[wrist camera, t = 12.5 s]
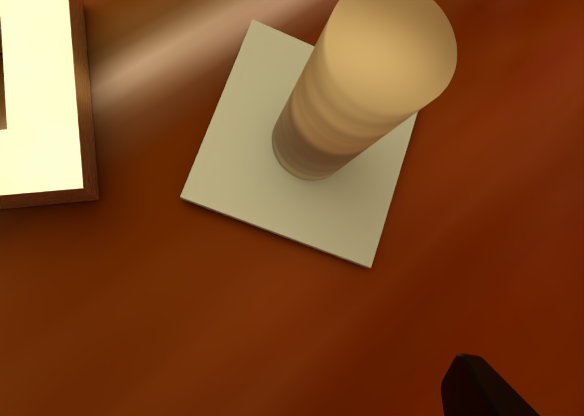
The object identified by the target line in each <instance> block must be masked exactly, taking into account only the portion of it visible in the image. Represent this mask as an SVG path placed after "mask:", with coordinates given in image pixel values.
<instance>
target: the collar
mask: <svg viewBox="0 0 584 416" xmlns="http://www.w3.org/2000/svg"><path fill="white" fill-rule="evenodd" d="M0 53H3V64H4V81H5V98H6V115H7V130H0V209H9V208H20V207H30V206H41V205H52V204H62V203H73V202H83V201H94V200H100V199H99V187H98V175H97V163H96V151H95V139H94V127H93V115H92V103H91V91H90V78H89V66H88V54H87V42H86V30H85V18H84V6H83V0H0Z"/></svg>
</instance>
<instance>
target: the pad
mask: <svg viewBox="0 0 584 416" xmlns="http://www.w3.org/2000/svg"><path fill="white" fill-rule="evenodd" d="M313 49H314V46H312V45H309V44H307V43H305V42H303V41H300V40H298V39H296V38H294V37H291V36H289V35H287V34H284V33H282V32H280V31H278V30H275V29H273V28H271V27H269V26H266V25H264V24H262V23H260V22H257V21H255V20H253V19H252V22H251V24H250V27H249V29H248V32H247V34H246V37H245V39H244V41H243V44H242V46H241V49H240V51H239V54H238V56H237V59H236V61H235V64H234V66H233V68H232V71H231V73H230V76H229V78H228V81H227V83H226V86H225V88H224V91H223V93H222V96H221V98H220V100H219V103H218V105H217V108H216V110H215V113H214V115H213V118H212V120H211V123H210V125H209V127H208V130H207V132H206V135H205V137H204V140H203V142H202V145H201V147H200V150H199V152H198V154H197V157H196V159H195V162H194V164H193V167H192V169H191V172H190V174H189V177H188V179H187V181H186V184H185V186H184V189H183V191H182V194H181V196H180V198H181V199H182V200H185V201H188V202H190V203H193V204H196V205H198V206H201V207H204V208H207V209H209V210H212V211H215V212H217V213H220V214H223V215H225V216H228V217H231V218H233V219H236V220H239V221H242V222H244V223H247V224H250V225H252V226H255V227H258V228H260V229H263V230H266V231H268V232H271V233H274V234H277V235H279V236H282V237H285V238H287V239H290V240H293V241H295V242H298V243H301V244H303V245H306V246H309V247H312V248H314V249H317V250H320V251H322V252H325V253H328V254H330V255H333V256H336V257H338V258H341V259H344V260H347V261H349V262H352V263H355V264H357V265H360V266H363V267H365V268H371V266H372V263H373V259H374V256H375V253H376V249H377V246H378V243H379V239H380V236H381V233H382V229H383V226H384V223H385V219H386V216H387V213H388V209H389V206H390V203H391V199H392V196H393V193H394V189H395V186H396V183H397V179H398V176H399V173H400V169H401V166H402V163H403V159H404V156H405V153H406V149H407V146H408V143H409V139H410V136H411V133H412V129H413V126H414V123H415V119H416V116H417V113H418V111H417V112H416V113H415V114H413V115H412V116H411V117H409V118H408V119H407V120H405V121H404V122H403V123H401V124H400V125H399V126H397V127H396V128H394V129H393V130H392V131H390V132H389V133H388V134H386V135H385V136H384V137H382V138H381V139H380V140H378V141H377V142H376V143H374V144H373V145H372V146H370V147H369V148H367V149H366V150H365V151H363V152H362V153H361V154H359V155H358V156H357V157H355V158H354V159H353V160H351V161H350V162H349V163H347V164H346V165H345V166H343V167H342V168H340V169H339V170H338V171H336V172H335V173H334V174H332V175H331V176H329V177H327V178H324V179H321V180H314V181H312V180H303V179H300V178H297V177H295V176H293V175H291V174H290V173H288V172H287V171H286V170H285V169H284V168H283V167H282V166H281V165H280V163H279V162H278V160H277V159H276V157H275V154H274V152H273V148H272V132H273V129H274V126H275V124H276V122H277V120H278V118H279V116H280V114H281V112H282V110H283V108H284V106H285V104H286V102H287V100H288V98H289V96H290V94H291V92H292V90H293V88H294V87H295V85H296V83H297V81H298V79H299V77H300V75H301V73H302V71H303V69H304V67H305V65H306V63H307V61H308V59H309V57H310V55H311V53H312V51H313Z"/></svg>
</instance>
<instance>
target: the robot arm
mask: <svg viewBox="0 0 584 416" xmlns="http://www.w3.org/2000/svg"><path fill="white" fill-rule="evenodd" d="M441 396H442V403H443V410H444V416H540V415H539V414H538V413H537V412H536V411H535V410H534V409H533V408H532V407H531V406H530V405H529V404H528V403H527V402H526V401H525V400H524V399H523V398H522V397H521V396H520V395H519V394H518V393H517V392H516V391H515V390H514V389H513V388H512V387H511V386H510V385H509V384H508V383H507V382H506V381H505V380H504V379H503V378H502V377H501V376H500V375H499V374H498V373H497V372H496V371H495V370H494V369H493V368H492V367H491V366H490V365H489V364H488V363H487V362H486V361H485V360H484V359H483V358H481V357H480V356H477V355H470V354H458V355H457V356H456V357H455V358H454V360H453V362H452V364H451V366H450V367H449V369H448V371H447V373H446V375H445V376H444V378H443V380H442V384H441Z"/></svg>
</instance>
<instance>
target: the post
mask: <svg viewBox="0 0 584 416" xmlns="http://www.w3.org/2000/svg"><path fill="white" fill-rule="evenodd" d="M456 61H457V45H456V40H455V36H454V32H453V29H452V27H451V25H450V22H449V21H448V19H447V17H446V15H445V14H444V12H443V11H442V10H441V8H440V7H439V6H438V5H437V4H436V3H435V2H434V1H433V0H339V2H338V3H337V5H336V6H335V8H334V10H333V12H332V14H331V16H330V18H329V20H328V22H327V24H326V26H325V28H324V30H323V32H322V34H321V36H320V38H319V40H318V42H317V44H316V45H315V47H314V49H313V51H312V53H311V55H310V57H309V59H308V61H307V63H306V65H305V67H304V69H303V71H302V73H301V75H300V77H299V79H298V81H297V83H296V85H295V87H294V88H293V90H292V92H291V94H290V96H289V98H288V100H287V102H286V104H285V106H284V108H283V110H282V112H281V114H280V116H279V118H278V120H277V122H276V124H275V126H274V129H273V132H272V148H273V152H274V154H275V157H276V159H277V160H278V162H279V163H280V165H281V166H282V167H283V168H284V169H285V170H286V171H287V172H288V173H290V174H291V175H293V176H295V177H297V178H300V179H303V180H312V181H314V180H321V179H324V178H327V177H329V176H331V175H332V174H334V173H335V172H336V171H338V170H339V169H340V168H342V167H343V166H345V165H346V164H347V163H349V162H350V161H351V160H353V159H354V158H355V157H357V156H358V155H359V154H361V153H362V152H363V151H365V150H366V149H367V148H369V147H370V146H372V145H373V144H374V143H376V142H377V141H378V140H380V139H381V138H382V137H384V136H385V135H386V134H388V133H389V132H390V131H392V130H393V129H394V128H396V127H397V126H399V125H400V124H401V123H403V122H404V121H405V120H407V119H408V118H409V117H411V116H412V115H413V114H415V113H416V112H417V111H419V110H420V109H421V108H423V107H424V106H426V105H427V104H428V103H430V102H431V101H432V100H434V99H435V98H436V97H438V96H439V95H440V94H441V93H442V92H443V91H444V90H445V88H446V87H447V86H448V84H449V82H450V81H451V79H452V76H453V74H454V71H455V67H456Z"/></svg>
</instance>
